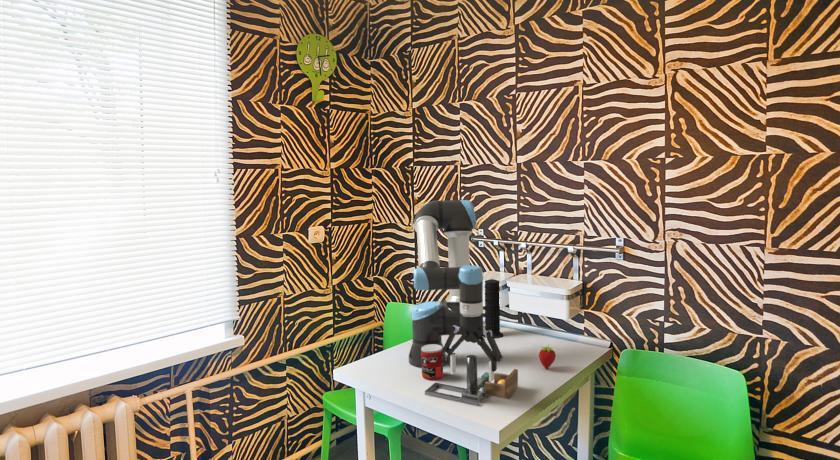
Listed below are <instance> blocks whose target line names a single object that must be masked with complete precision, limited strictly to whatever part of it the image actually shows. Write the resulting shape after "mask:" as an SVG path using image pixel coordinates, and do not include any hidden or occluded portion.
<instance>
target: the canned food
mask: <svg viewBox="0 0 840 460" xmlns="http://www.w3.org/2000/svg"><path fill="white" fill-rule="evenodd" d="M442 349H443V348H442V346H440V345H437V344H429V345H425V346H423V347H422V348H421V360H422V367H421V376H422V379H424V380H427V381H437V380H440V379H442V378H443V376H444V364H443V351H442Z"/></svg>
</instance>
